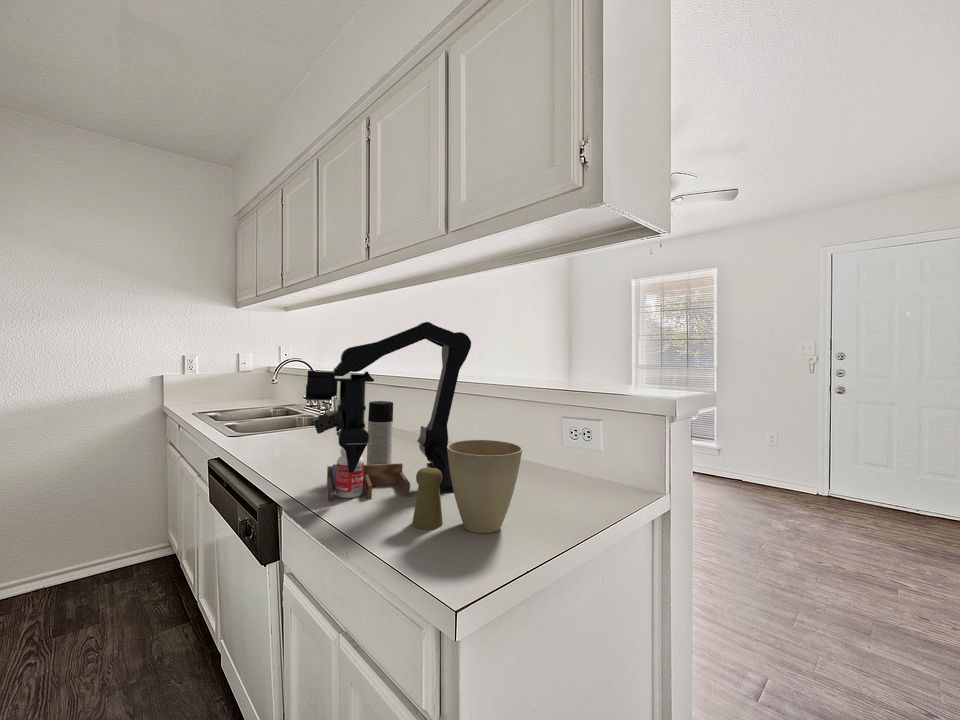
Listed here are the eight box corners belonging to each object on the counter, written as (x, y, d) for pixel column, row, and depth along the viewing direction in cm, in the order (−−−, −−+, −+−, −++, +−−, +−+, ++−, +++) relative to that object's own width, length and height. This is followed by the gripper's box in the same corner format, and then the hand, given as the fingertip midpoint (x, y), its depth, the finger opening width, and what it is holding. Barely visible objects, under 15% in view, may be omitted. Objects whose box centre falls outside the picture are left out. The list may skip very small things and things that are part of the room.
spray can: (396, 474, 127) (398, 402, 127) (378, 479, 121) (381, 404, 121) (378, 470, 131) (381, 400, 130) (360, 475, 125) (363, 401, 125)
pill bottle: (353, 500, 104) (355, 451, 104) (329, 496, 106) (331, 448, 106) (367, 492, 110) (369, 446, 110) (345, 489, 112) (347, 444, 112)
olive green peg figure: (437, 530, 88) (439, 473, 88) (407, 527, 89) (409, 470, 89) (446, 520, 94) (448, 466, 94) (418, 516, 95) (420, 463, 95)
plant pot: (459, 509, 101) (462, 437, 101) (526, 519, 96) (529, 443, 96) (431, 534, 87) (434, 449, 86) (508, 547, 82) (512, 458, 82)
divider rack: (401, 482, 120) (402, 461, 120) (409, 496, 109) (410, 472, 109) (326, 486, 114) (327, 463, 113) (327, 501, 103) (328, 476, 103)
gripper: (315, 396, 114) (313, 459, 114) (315, 405, 96) (312, 479, 96) (362, 396, 118) (360, 457, 118) (369, 405, 100) (367, 476, 100)
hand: (350, 467), depth 108 cm, fingers open, 9 cm apart
